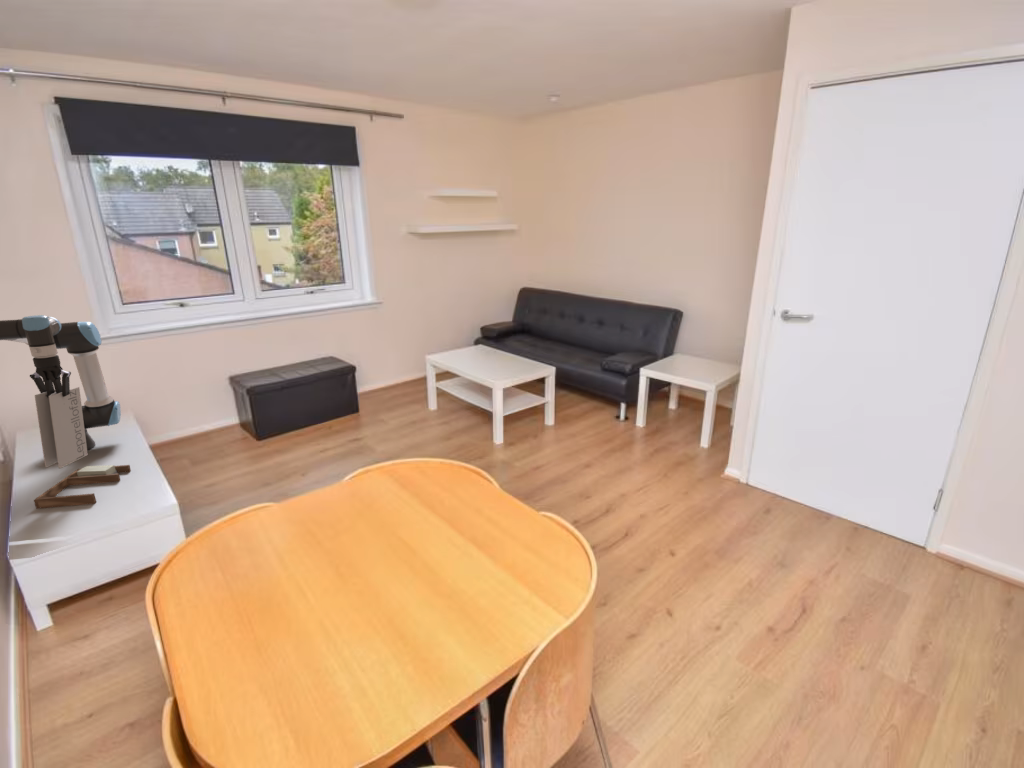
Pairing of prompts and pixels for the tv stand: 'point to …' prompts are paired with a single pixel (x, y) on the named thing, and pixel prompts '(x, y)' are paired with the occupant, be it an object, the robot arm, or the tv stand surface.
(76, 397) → the brochure
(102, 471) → the offcut upper
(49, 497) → the rack
